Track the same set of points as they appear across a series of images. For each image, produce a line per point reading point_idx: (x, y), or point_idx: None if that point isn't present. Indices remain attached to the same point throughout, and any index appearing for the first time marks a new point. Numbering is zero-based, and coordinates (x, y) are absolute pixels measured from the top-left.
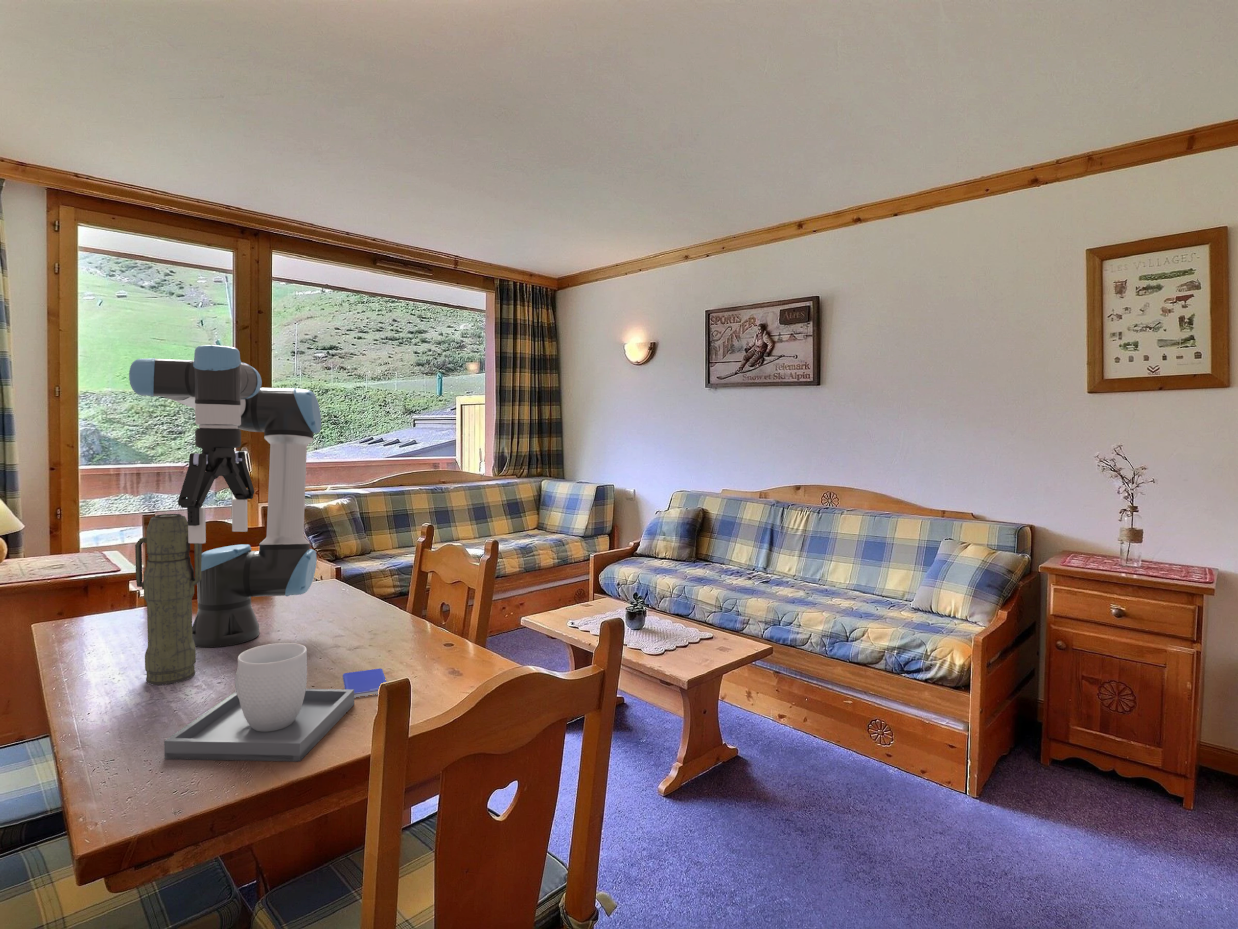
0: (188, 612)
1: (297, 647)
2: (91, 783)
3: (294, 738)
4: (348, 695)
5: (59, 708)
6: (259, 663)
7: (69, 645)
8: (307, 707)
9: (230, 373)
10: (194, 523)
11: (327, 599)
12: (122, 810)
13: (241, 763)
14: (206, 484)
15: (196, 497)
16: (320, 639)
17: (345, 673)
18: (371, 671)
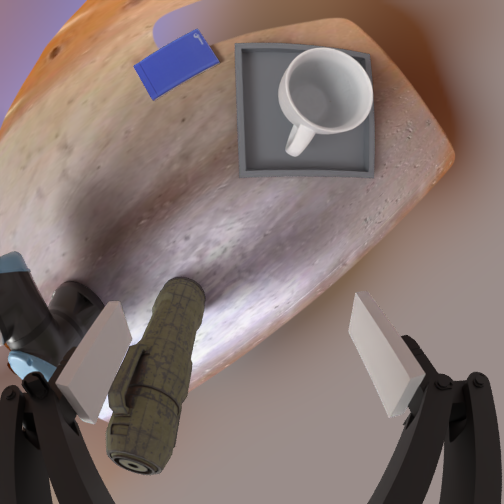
0: (161, 324)
1: (292, 69)
2: (397, 209)
3: None
4: (252, 43)
5: (266, 335)
6: (372, 89)
7: None
8: (262, 86)
9: None
10: (413, 342)
11: None
12: (427, 161)
13: None
14: (430, 480)
15: (474, 401)
16: (51, 208)
17: (152, 96)
18: (144, 70)
